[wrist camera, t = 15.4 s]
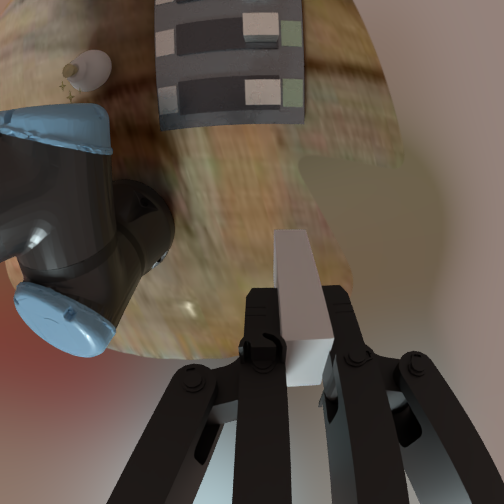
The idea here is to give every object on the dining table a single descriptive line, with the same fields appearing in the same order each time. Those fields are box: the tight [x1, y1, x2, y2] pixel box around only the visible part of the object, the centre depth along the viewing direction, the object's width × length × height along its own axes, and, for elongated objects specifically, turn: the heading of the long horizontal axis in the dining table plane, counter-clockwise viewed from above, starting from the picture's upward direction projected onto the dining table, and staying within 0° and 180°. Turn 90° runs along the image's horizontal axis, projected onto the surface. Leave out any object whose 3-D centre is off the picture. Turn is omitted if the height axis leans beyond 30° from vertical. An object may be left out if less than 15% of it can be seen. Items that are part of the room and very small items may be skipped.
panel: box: [155, 0, 304, 131], centre depth 23 cm, size 18×24×6 cm
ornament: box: [59, 50, 112, 102], centre depth 23 cm, size 6×7×10 cm
